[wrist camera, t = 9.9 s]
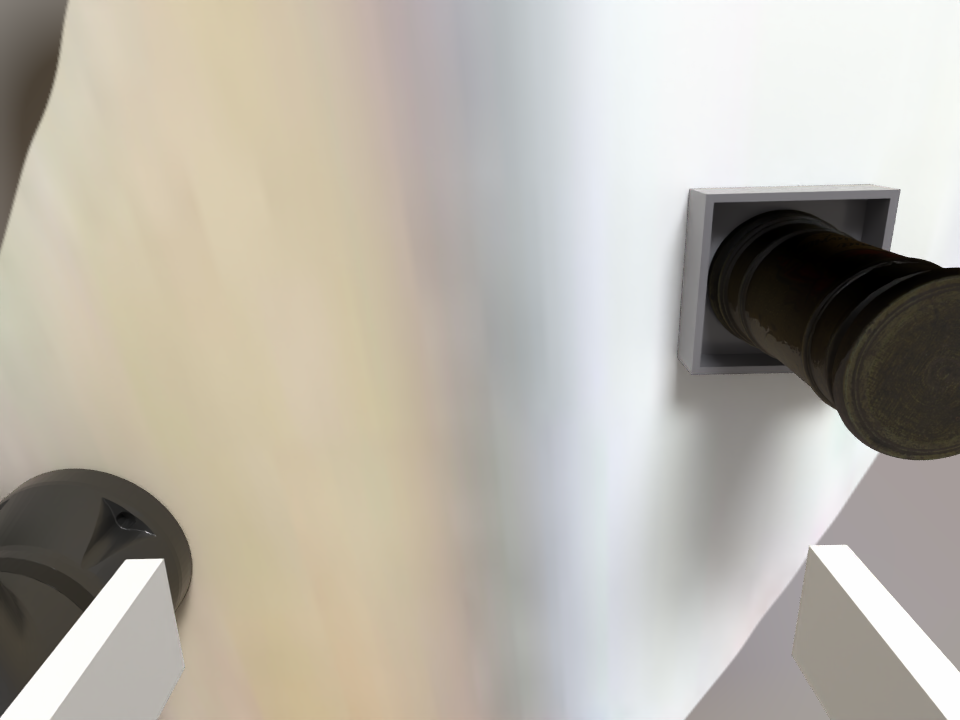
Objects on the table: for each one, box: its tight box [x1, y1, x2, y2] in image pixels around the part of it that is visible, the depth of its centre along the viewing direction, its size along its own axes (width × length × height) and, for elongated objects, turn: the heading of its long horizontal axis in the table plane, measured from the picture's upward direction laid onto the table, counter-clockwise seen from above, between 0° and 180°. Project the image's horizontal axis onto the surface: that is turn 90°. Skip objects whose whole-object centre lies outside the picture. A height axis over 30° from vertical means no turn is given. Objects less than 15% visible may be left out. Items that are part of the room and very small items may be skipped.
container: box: [708, 210, 960, 460], centre depth 37 cm, size 9×9×18 cm
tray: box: [677, 184, 901, 375], centre depth 45 cm, size 12×12×4 cm
